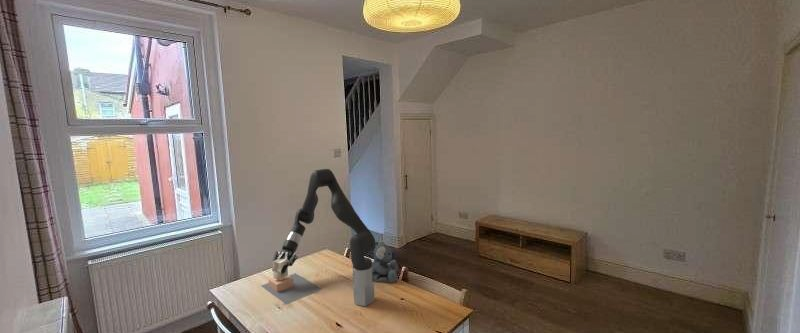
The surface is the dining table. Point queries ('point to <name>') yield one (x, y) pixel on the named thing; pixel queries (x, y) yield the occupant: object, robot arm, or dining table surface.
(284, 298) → the building mat
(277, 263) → the cream block
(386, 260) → the koala plush
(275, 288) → the terracotta brick
